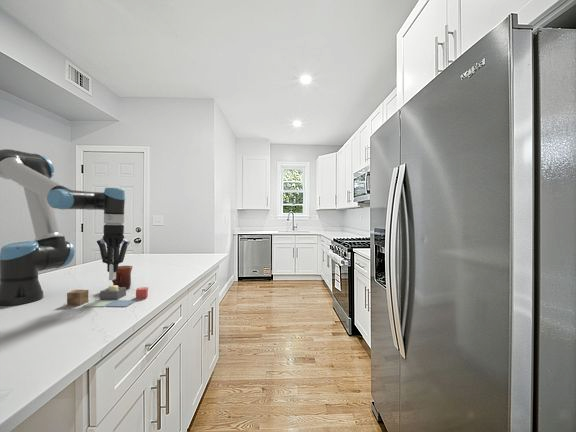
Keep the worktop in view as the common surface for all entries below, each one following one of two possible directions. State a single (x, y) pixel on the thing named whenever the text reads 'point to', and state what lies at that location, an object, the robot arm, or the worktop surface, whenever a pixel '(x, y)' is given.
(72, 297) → the tan wooden cuboid
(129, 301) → the tile
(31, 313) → the worktop surface
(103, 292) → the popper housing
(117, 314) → the worktop surface
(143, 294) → the die
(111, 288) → the button
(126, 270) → the mug
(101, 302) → the tile
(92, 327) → the worktop surface
